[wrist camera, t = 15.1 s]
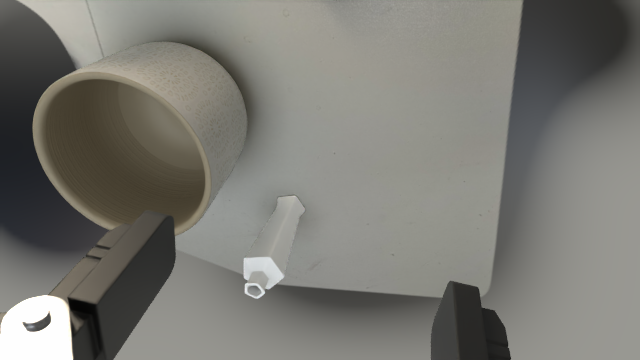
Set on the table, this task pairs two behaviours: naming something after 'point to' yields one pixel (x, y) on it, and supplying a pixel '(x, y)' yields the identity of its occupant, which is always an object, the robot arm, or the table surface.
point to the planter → (142, 134)
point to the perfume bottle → (272, 247)
